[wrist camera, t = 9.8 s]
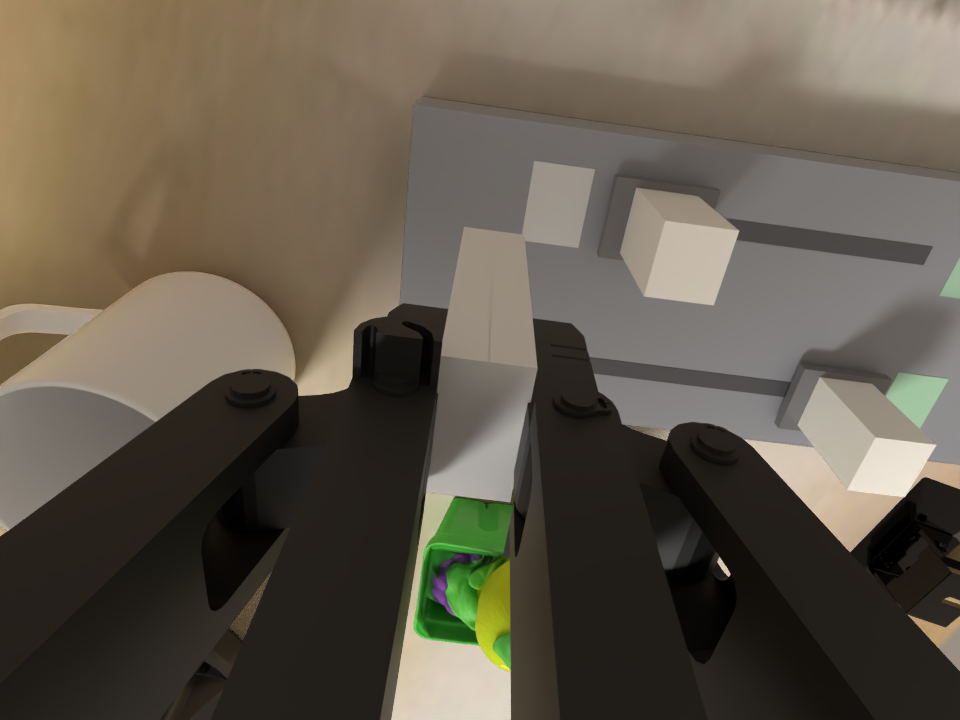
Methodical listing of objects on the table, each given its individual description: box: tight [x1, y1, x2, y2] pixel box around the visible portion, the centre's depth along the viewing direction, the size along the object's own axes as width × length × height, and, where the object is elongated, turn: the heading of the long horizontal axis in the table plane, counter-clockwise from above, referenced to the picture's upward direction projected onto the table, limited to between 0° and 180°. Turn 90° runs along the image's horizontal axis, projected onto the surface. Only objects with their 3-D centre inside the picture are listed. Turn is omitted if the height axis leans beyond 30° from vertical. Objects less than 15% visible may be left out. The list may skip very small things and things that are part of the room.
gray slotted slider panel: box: [399, 97, 960, 465], centre depth 28 cm, size 30×13×3 cm, turn 83°
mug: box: [0, 271, 296, 531], centre depth 26 cm, size 12×9×11 cm
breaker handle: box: [774, 364, 936, 497], centre depth 26 cm, size 4×3×5 cm
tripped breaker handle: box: [597, 174, 739, 306], centre depth 22 cm, size 4×3×5 cm
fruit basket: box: [414, 498, 513, 672], centre depth 32 cm, size 11×9×11 cm
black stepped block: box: [850, 477, 960, 627], centre depth 35 cm, size 12×7×5 cm, turn 158°
